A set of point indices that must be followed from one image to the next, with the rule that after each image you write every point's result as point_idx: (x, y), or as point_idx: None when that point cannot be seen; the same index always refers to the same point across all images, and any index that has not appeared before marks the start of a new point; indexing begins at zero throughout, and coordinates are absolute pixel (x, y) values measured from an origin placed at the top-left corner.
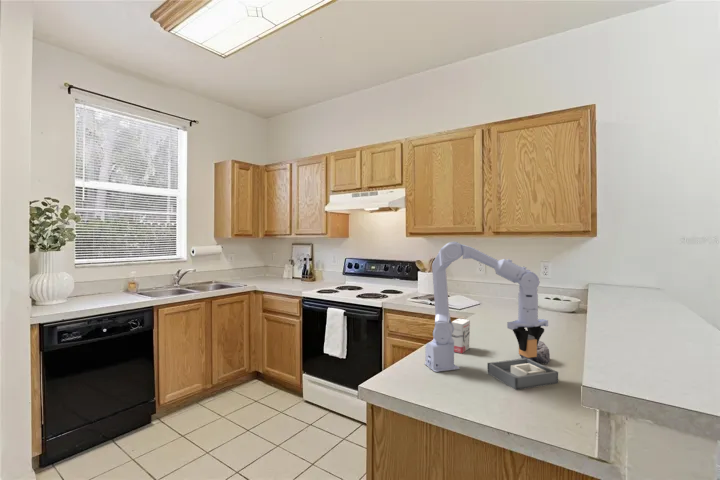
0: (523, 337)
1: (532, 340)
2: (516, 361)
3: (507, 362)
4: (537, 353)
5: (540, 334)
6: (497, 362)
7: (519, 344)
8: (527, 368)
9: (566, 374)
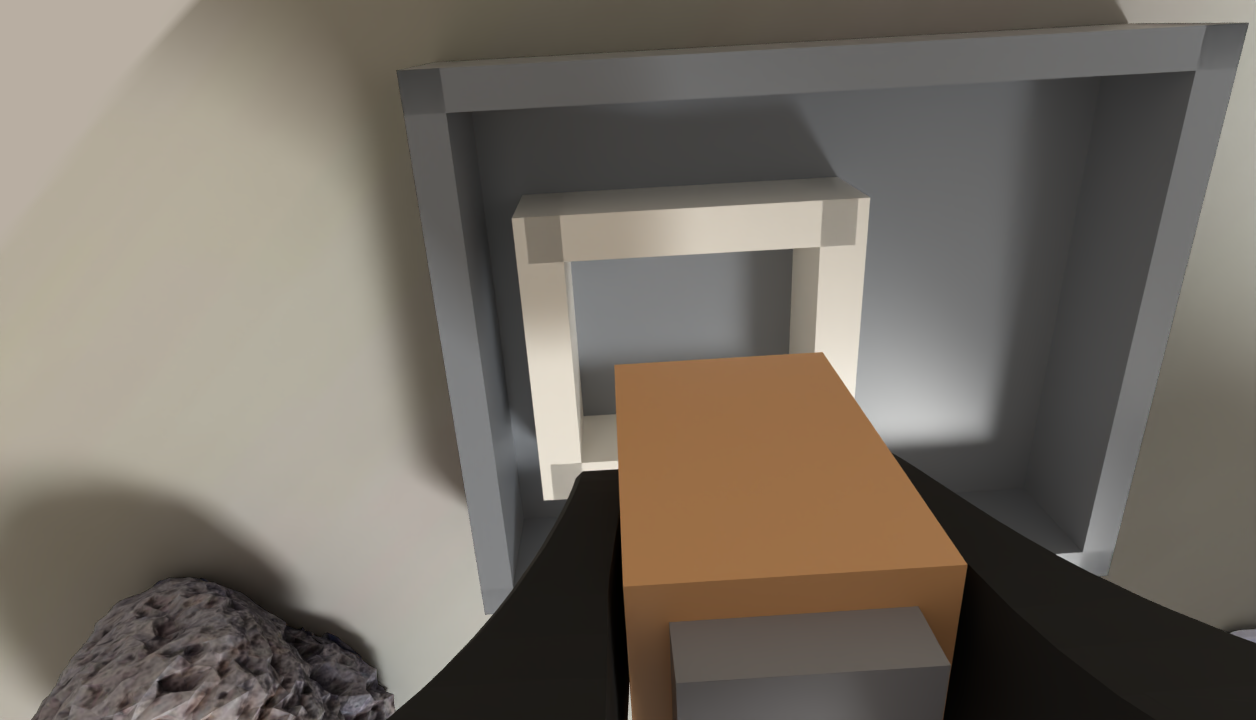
0: (1222, 634)
1: (793, 565)
2: None
3: None
4: (255, 683)
5: (480, 705)
6: None
7: None
8: (604, 435)
9: (125, 281)
